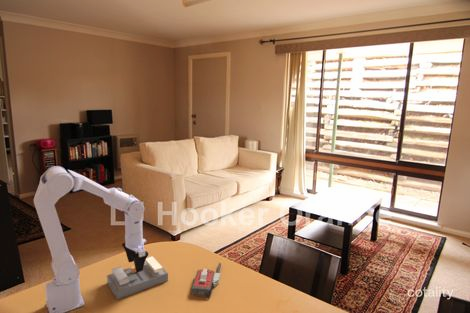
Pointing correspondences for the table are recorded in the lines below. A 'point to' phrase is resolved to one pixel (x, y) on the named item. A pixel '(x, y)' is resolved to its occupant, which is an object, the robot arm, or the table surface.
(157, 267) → the cream bar
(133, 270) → the orange rectangular block
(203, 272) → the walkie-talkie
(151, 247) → the table surface
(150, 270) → the panel
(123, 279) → the grey bar
